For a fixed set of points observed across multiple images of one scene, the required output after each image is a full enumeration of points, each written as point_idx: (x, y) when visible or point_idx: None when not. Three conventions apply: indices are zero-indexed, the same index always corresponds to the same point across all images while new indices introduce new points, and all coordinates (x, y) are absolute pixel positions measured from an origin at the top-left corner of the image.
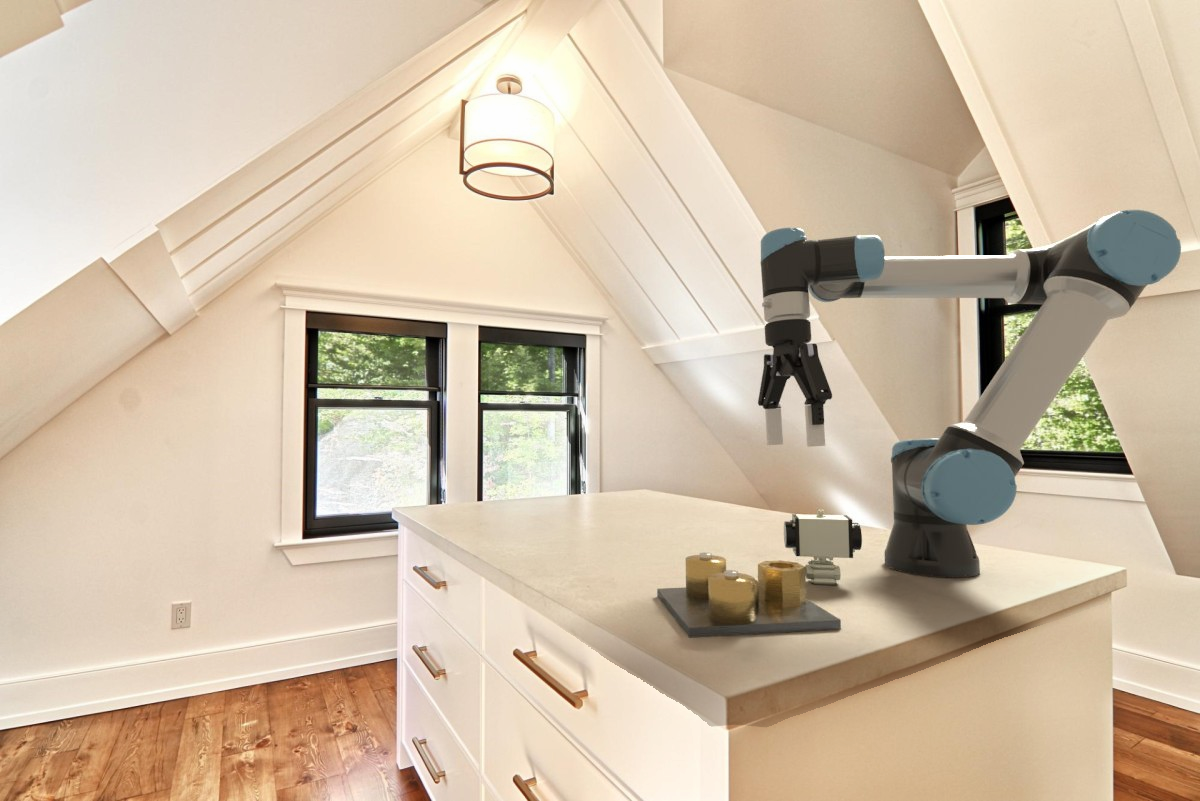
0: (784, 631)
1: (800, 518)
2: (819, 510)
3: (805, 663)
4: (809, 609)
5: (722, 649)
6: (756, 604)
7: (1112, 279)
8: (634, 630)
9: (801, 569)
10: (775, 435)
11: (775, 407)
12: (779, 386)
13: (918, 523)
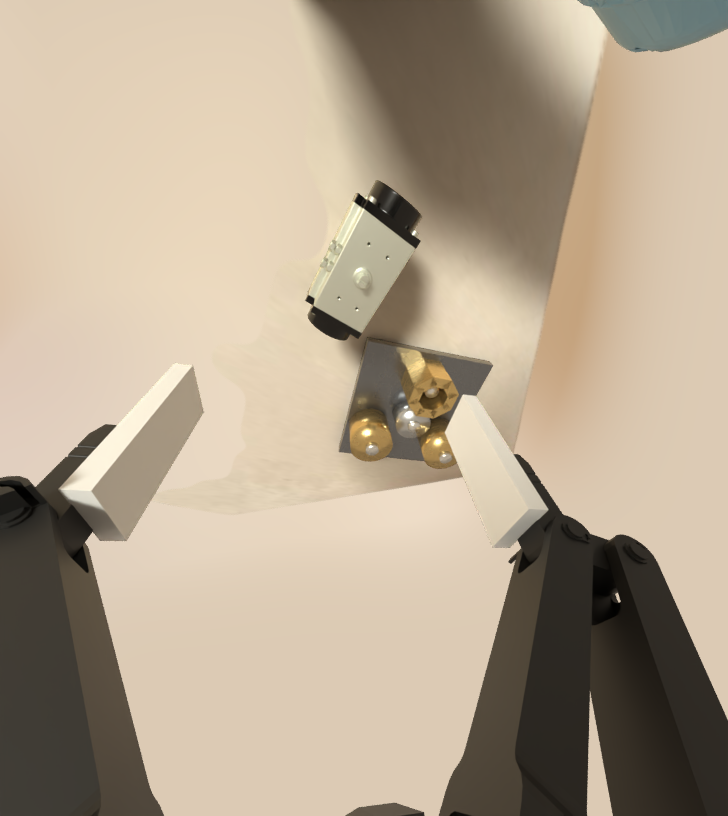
0: None
1: (362, 330)
2: (365, 287)
3: (511, 420)
4: (457, 371)
5: None
6: None
7: None
8: (406, 477)
9: (456, 389)
10: (184, 413)
11: (66, 512)
12: (104, 703)
13: None
